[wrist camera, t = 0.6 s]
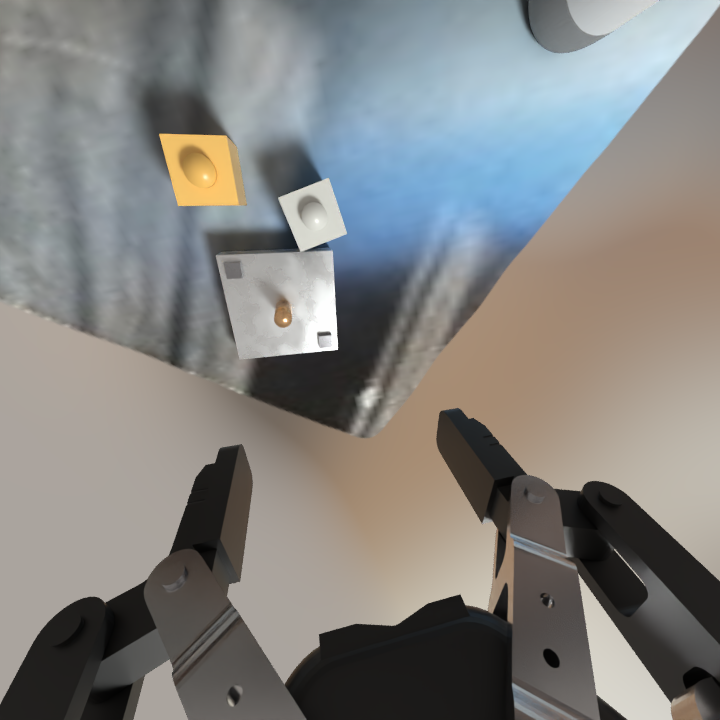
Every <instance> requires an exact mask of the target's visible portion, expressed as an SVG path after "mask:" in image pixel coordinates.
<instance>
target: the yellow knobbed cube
mask: <svg viewBox="0 0 720 720" xmlns="http://www.w3.org/2000/svg"><path fill="white" fill-rule="evenodd" d="M159 136H160V140H161V143H162V147H163V151H164V155H165V158H166V162H167V166H168V169H169V173H170V177H171V181H172V184H173V188H174V192H175V196H176V199H177V203H178V206H225V205H247V203H246V197H245V191H244V186H243V180H242V174H241V168H240V162H239V156H238V150H237V147H236V146H235V145H234V144H233V142H232V141H231V140H230V139H229V138H228V137H227V136H222V135H187V134H159Z"/></svg>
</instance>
